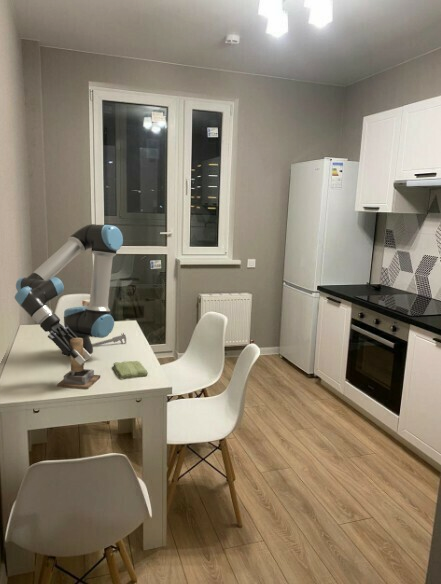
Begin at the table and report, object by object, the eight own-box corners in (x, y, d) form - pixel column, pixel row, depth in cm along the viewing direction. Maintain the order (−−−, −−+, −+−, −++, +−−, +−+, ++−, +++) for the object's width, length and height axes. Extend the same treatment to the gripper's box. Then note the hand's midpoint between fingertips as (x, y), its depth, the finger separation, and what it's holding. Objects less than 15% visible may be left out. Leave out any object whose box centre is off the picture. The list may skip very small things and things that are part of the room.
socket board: (71, 375, 187) (71, 366, 186) (100, 377, 185) (100, 368, 185) (56, 386, 174) (56, 377, 173) (87, 389, 173) (87, 379, 172)
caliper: (125, 343, 236) (125, 332, 235) (126, 344, 235) (126, 333, 234) (87, 347, 228) (87, 335, 226) (87, 347, 227) (87, 336, 226)
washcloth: (139, 364, 205) (139, 357, 204) (149, 377, 189) (149, 370, 188) (111, 367, 199) (111, 360, 199) (118, 380, 183) (118, 373, 183)
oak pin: (74, 367, 181) (73, 337, 179) (85, 368, 180) (84, 338, 178) (68, 371, 176) (67, 340, 174) (80, 372, 175) (79, 341, 173)
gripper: (51, 320, 186) (89, 359, 187) (28, 330, 168) (69, 373, 169) (63, 308, 184) (100, 348, 185) (41, 318, 167) (82, 361, 167)
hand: (85, 360), depth 177 cm, fingers closed on oak pin, 5 cm apart
